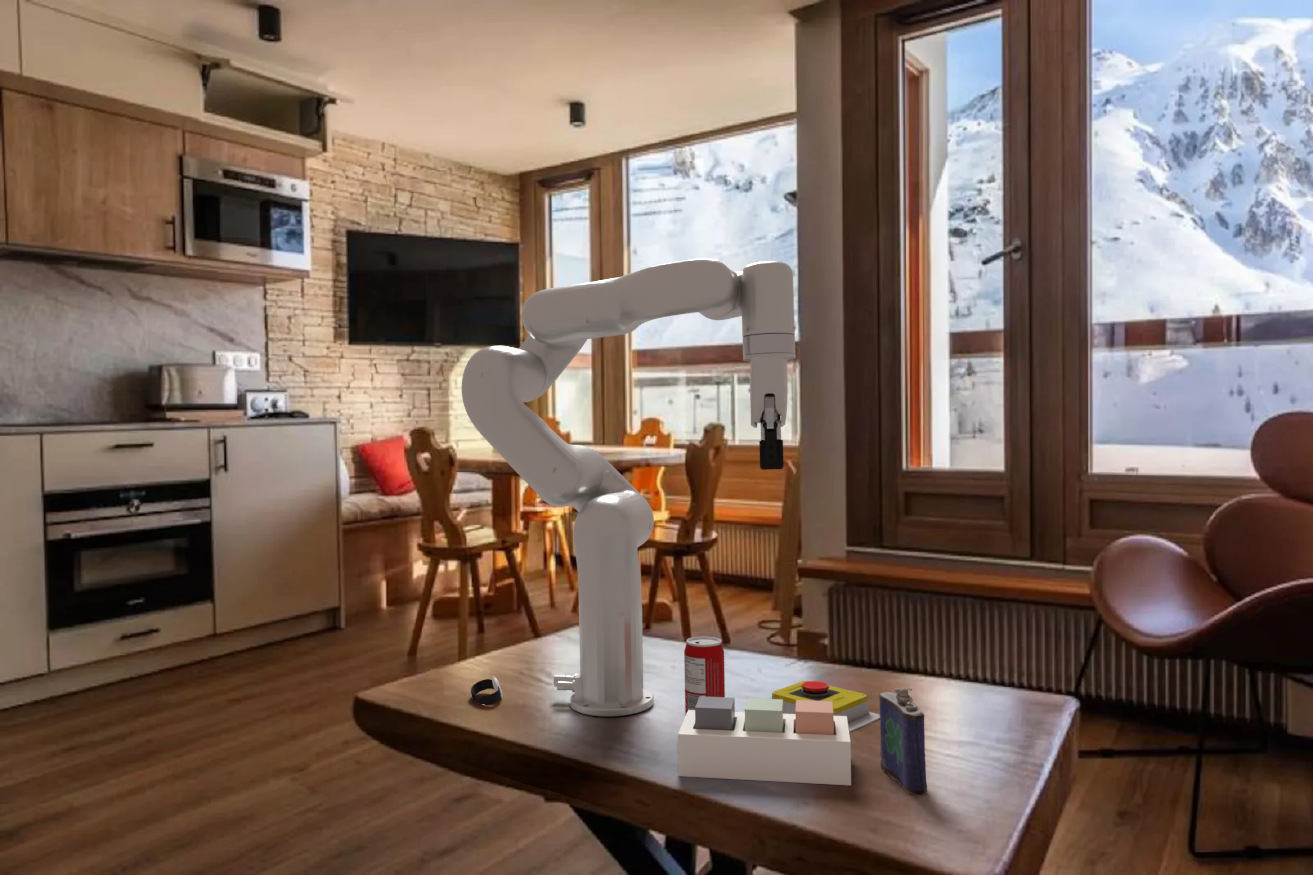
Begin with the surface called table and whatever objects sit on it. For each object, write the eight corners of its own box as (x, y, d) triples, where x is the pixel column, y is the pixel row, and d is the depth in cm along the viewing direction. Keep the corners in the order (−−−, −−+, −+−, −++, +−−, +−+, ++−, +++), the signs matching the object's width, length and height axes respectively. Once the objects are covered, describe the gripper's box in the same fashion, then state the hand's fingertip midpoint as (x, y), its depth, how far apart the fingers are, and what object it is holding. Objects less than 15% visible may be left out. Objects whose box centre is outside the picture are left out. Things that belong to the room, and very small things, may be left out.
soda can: (727, 718, 121) (726, 634, 121) (722, 732, 115) (721, 644, 115) (689, 716, 122) (687, 633, 122) (682, 729, 117) (680, 642, 116)
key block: (678, 776, 101) (677, 734, 101) (688, 748, 109) (688, 709, 109) (851, 785, 97) (850, 741, 97) (847, 756, 106) (846, 716, 106)
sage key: (745, 742, 101) (744, 709, 101) (747, 730, 106) (747, 698, 106) (782, 744, 101) (781, 710, 101) (783, 731, 105) (782, 699, 105)
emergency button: (798, 670, 131) (883, 689, 121) (798, 698, 131) (884, 720, 121) (760, 682, 125) (847, 704, 114) (760, 712, 125) (847, 737, 114)
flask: (876, 765, 103) (875, 677, 103) (899, 763, 103) (898, 675, 103) (909, 797, 94) (908, 700, 94) (934, 795, 94) (933, 698, 94)
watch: (508, 705, 129) (507, 681, 129) (477, 710, 127) (477, 686, 127) (495, 692, 136) (494, 669, 136) (465, 696, 134) (465, 673, 134)
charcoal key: (695, 740, 103) (695, 707, 103) (700, 728, 107) (699, 696, 107) (731, 742, 102) (731, 708, 102) (735, 729, 106) (734, 697, 106)
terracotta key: (796, 745, 100) (795, 711, 100) (796, 732, 105) (795, 700, 105) (833, 746, 100) (833, 712, 100) (832, 733, 104) (832, 701, 104)
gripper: (745, 356, 131) (748, 466, 131) (739, 344, 114) (743, 471, 114) (794, 354, 130) (797, 465, 130) (795, 341, 113) (799, 469, 113)
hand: (772, 467), depth 122 cm, fingers open, 9 cm apart
